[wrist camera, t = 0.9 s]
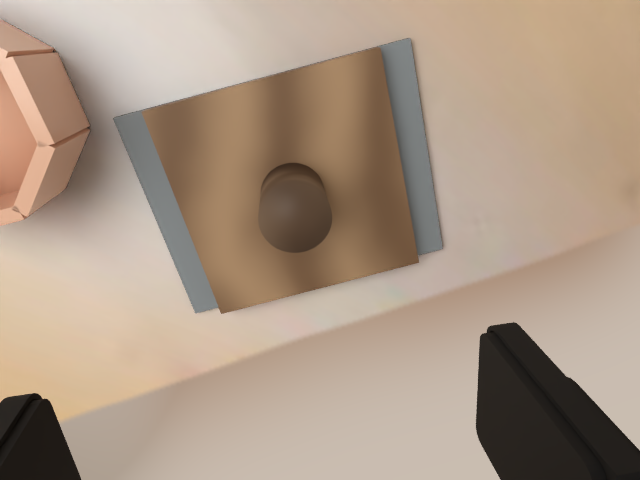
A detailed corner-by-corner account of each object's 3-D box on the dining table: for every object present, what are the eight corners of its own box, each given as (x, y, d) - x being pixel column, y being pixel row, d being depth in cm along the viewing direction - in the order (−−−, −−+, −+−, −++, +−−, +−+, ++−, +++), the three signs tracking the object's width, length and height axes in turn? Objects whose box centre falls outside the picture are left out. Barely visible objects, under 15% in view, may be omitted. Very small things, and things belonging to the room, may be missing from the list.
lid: (376, 47, 28) (399, 50, 23) (415, 256, 33) (439, 294, 28) (145, 109, 28) (117, 125, 23) (222, 306, 34) (213, 353, 29)
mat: (408, 38, 28) (410, 38, 28) (440, 246, 34) (442, 248, 33) (115, 117, 28) (113, 118, 28) (196, 310, 34) (195, 313, 34)
